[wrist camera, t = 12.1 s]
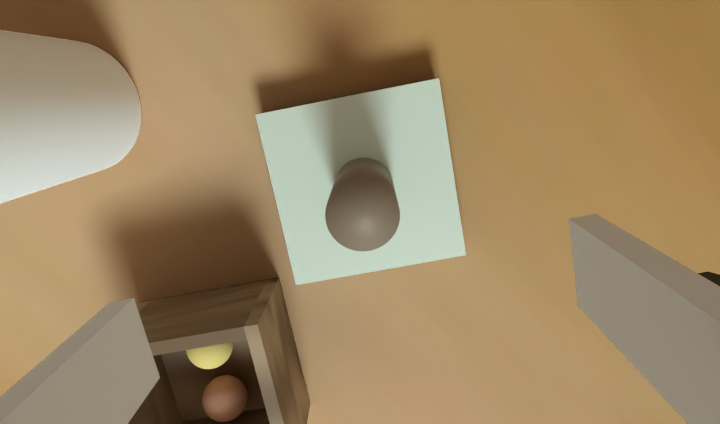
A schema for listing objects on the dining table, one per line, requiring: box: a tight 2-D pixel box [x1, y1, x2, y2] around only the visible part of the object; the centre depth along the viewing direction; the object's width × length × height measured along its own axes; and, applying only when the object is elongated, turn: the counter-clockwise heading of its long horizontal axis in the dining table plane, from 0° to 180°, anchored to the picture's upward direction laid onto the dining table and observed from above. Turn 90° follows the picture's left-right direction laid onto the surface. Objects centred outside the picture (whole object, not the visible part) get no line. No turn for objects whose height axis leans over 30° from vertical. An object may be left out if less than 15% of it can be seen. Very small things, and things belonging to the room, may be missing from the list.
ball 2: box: [202, 375, 248, 422], centre depth 35 cm, size 3×3×3 cm
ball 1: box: [186, 342, 233, 369], centre depth 34 cm, size 3×3×3 cm
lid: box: [256, 78, 466, 285], centre depth 29 cm, size 11×11×8 cm
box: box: [128, 278, 310, 424], centre depth 33 cm, size 10×10×7 cm
